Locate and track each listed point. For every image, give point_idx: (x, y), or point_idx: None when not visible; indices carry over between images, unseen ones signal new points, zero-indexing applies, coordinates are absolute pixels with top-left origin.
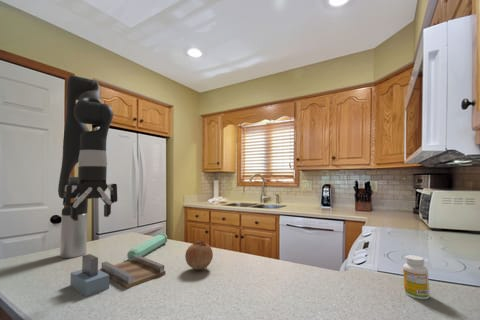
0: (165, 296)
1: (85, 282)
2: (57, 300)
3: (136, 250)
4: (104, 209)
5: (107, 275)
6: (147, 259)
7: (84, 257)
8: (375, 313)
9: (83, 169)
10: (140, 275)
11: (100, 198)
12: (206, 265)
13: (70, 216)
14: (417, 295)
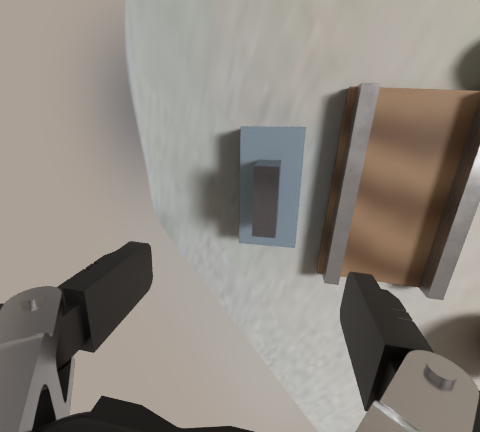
0: (334, 359)
1: (239, 234)
2: (200, 196)
3: None
4: (363, 316)
5: (290, 246)
6: (471, 207)
7: (253, 184)
8: None
9: None
10: (376, 255)
11: (365, 420)
12: None
13: (100, 260)
14: None
